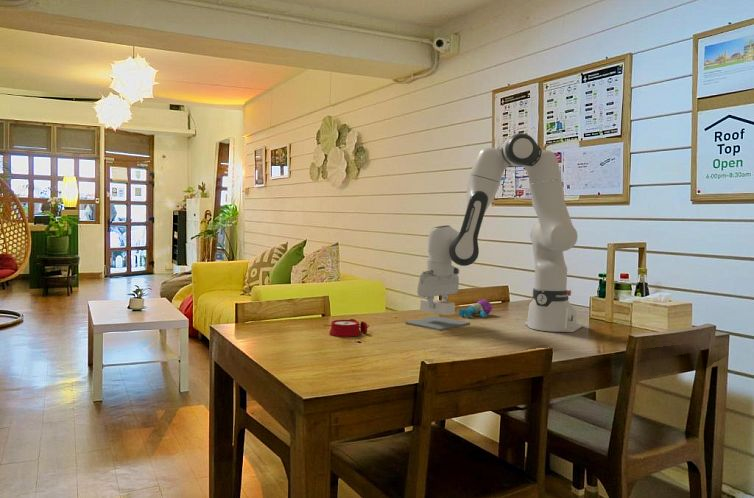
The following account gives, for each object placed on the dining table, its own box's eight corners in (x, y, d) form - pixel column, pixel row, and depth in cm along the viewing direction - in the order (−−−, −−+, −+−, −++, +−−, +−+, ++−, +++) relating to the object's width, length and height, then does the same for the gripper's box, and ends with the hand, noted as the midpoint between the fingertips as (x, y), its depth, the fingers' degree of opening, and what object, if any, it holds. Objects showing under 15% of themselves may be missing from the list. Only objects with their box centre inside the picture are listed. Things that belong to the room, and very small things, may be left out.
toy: (475, 325, 228) (502, 314, 237) (473, 309, 227) (500, 299, 236) (454, 320, 238) (480, 310, 246) (452, 304, 237) (478, 295, 245)
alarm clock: (320, 323, 197) (354, 308, 206) (323, 340, 198) (357, 325, 207) (339, 328, 189) (374, 313, 198) (342, 346, 190) (377, 330, 200)
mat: (435, 317, 230) (435, 316, 230) (469, 324, 219) (470, 322, 219) (405, 323, 217) (405, 322, 217) (440, 330, 206) (440, 328, 206)
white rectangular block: (454, 313, 215) (455, 302, 215) (446, 315, 212) (446, 303, 211) (428, 309, 223) (428, 298, 223) (420, 310, 220) (420, 299, 220)
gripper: (427, 272, 207) (426, 311, 208) (462, 269, 222) (460, 306, 222) (414, 270, 211) (412, 309, 212) (448, 267, 226) (447, 303, 227)
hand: (437, 307), depth 217 cm, fingers closed on white rectangular block, 5 cm apart
